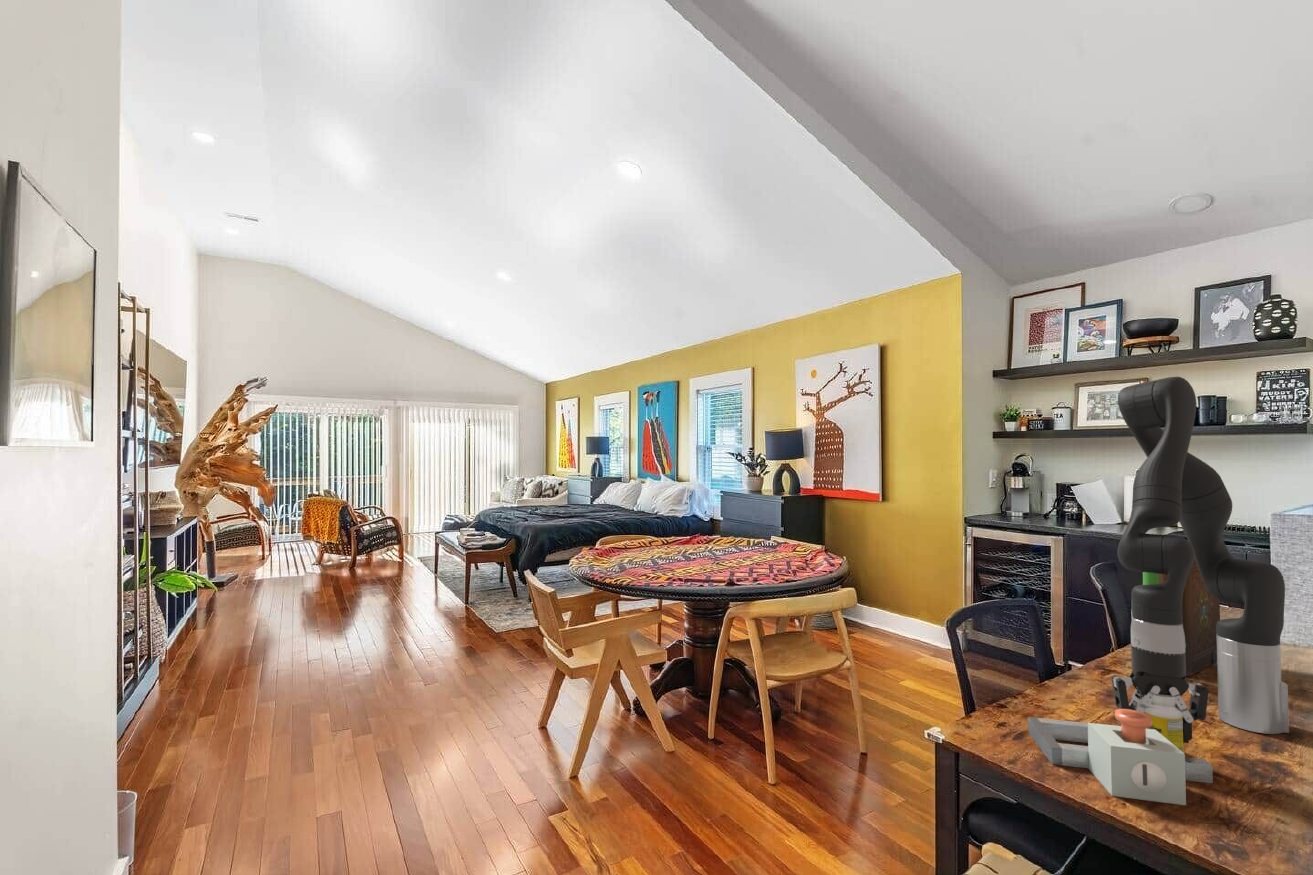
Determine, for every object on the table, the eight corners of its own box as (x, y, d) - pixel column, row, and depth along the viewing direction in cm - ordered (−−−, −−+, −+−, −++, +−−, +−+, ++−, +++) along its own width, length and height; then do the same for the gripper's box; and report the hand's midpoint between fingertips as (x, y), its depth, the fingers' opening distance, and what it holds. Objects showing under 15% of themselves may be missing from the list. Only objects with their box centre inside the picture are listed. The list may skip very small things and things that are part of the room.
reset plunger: (1142, 734, 100) (1142, 710, 100) (1158, 748, 95) (1158, 723, 95) (1109, 730, 101) (1109, 707, 101) (1123, 744, 96) (1123, 719, 96)
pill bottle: (1129, 746, 109) (1127, 685, 109) (1160, 744, 109) (1158, 684, 109) (1161, 763, 102) (1159, 699, 103) (1193, 761, 103) (1191, 698, 103)
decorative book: (1188, 653, 162) (1185, 543, 162) (1223, 661, 155) (1220, 547, 156) (1153, 670, 149) (1150, 551, 150) (1190, 679, 143) (1187, 555, 144)
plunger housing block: (1156, 776, 101) (1155, 729, 101) (1188, 807, 92) (1186, 755, 92) (1088, 768, 103) (1087, 722, 103) (1113, 797, 95) (1112, 747, 95)
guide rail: (1170, 747, 111) (1169, 731, 111) (1212, 783, 99) (1212, 765, 99) (1028, 732, 117) (1027, 716, 117) (1052, 764, 105) (1051, 746, 105)
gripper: (1192, 641, 108) (1195, 733, 108) (1101, 635, 112) (1103, 724, 111) (1219, 655, 101) (1222, 754, 100) (1121, 648, 104) (1123, 744, 104)
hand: (1160, 738), depth 106 cm, fingers closed on pill bottle, 6 cm apart
